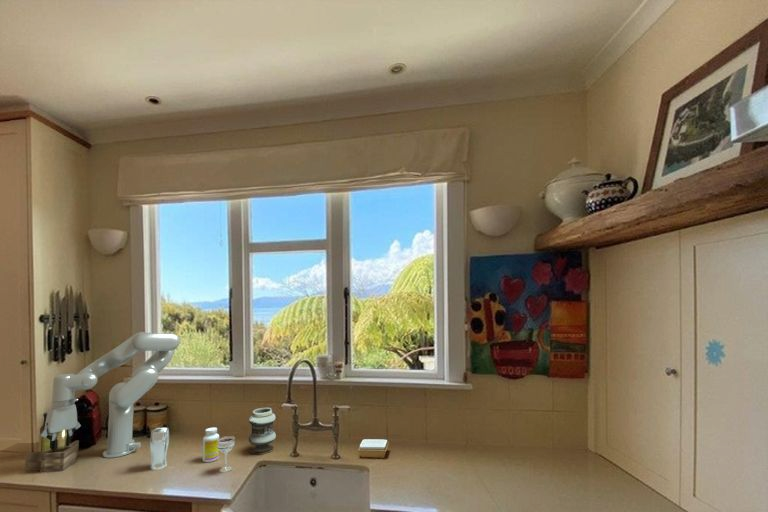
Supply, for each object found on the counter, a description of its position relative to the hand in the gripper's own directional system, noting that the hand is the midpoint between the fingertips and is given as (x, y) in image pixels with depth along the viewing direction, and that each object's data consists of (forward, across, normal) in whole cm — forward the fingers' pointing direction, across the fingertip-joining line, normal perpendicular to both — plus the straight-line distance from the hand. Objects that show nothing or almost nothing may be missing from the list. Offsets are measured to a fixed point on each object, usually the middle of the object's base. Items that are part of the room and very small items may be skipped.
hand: (60, 447), depth 164 cm
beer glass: (+8, -20, +39) cm, 45 cm away
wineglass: (+8, -31, +67) cm, 75 cm away
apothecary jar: (+9, -53, +65) cm, 84 cm away
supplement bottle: (+9, -35, +53) cm, 64 cm away
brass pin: (+4, 0, 0) cm, 4 cm away
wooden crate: (+8, 0, -6) cm, 10 cm away
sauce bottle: (+8, -3, -19) cm, 21 cm away
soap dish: (+9, -72, +114) cm, 135 cm away
